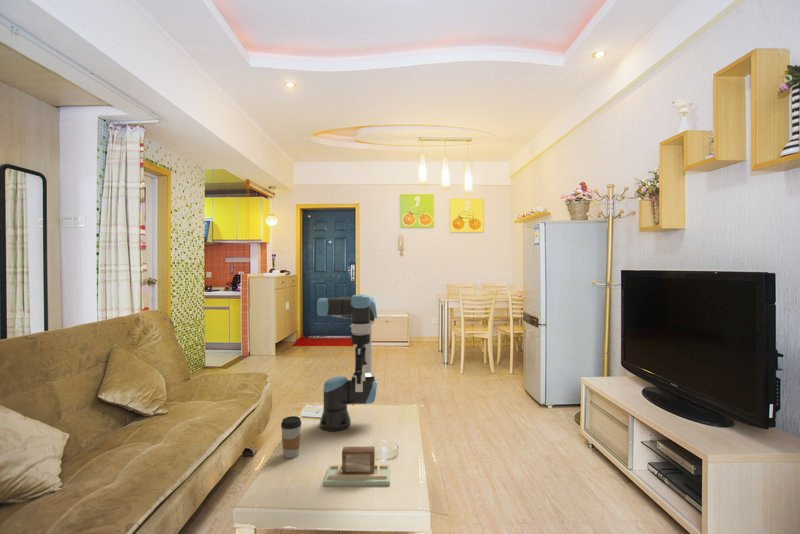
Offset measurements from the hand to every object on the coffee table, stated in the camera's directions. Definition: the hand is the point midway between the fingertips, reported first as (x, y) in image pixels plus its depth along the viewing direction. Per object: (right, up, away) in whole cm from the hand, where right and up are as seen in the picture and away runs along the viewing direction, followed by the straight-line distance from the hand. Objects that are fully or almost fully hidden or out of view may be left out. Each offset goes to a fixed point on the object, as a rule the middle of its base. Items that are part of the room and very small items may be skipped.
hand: (360, 386), depth 156 cm
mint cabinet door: (0, -32, -9) cm, 33 cm away
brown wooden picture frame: (0, -30, -9) cm, 31 cm away
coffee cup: (-30, -32, +8) cm, 45 cm away
